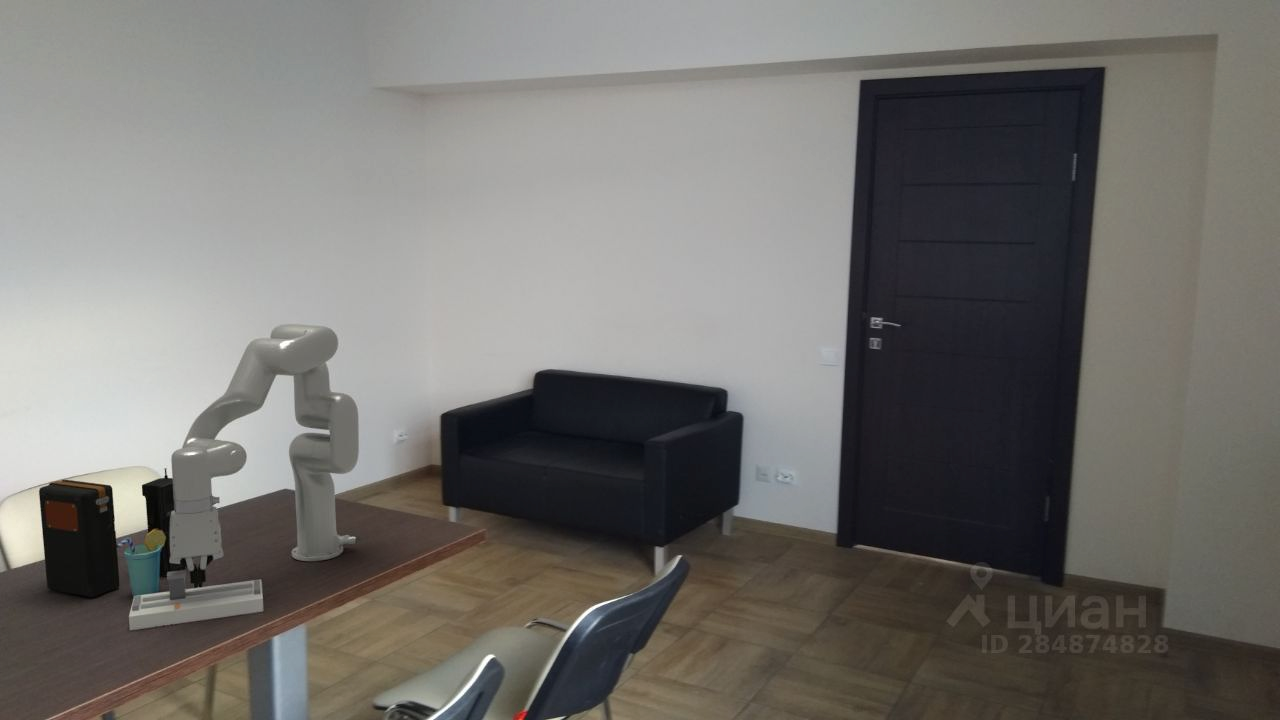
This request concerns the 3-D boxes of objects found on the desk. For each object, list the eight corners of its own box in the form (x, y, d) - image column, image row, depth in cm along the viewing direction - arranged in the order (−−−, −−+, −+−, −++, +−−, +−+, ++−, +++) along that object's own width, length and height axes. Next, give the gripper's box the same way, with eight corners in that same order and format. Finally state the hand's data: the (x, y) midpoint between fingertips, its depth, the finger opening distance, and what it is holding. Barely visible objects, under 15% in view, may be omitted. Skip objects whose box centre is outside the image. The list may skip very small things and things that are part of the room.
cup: (137, 608, 210) (133, 543, 207) (106, 606, 211) (101, 541, 209) (178, 585, 223) (174, 523, 221) (148, 582, 224) (144, 521, 222)
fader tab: (187, 595, 209) (185, 569, 208) (186, 599, 206) (185, 574, 205) (169, 597, 207) (167, 572, 207) (168, 602, 205) (166, 576, 204)
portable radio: (166, 579, 227) (159, 477, 223) (144, 577, 228) (137, 475, 224) (188, 567, 235) (181, 469, 231) (166, 565, 236) (160, 467, 232)
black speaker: (125, 587, 222) (117, 483, 218) (93, 601, 214) (84, 493, 210) (74, 578, 227) (66, 477, 223) (41, 591, 219) (32, 486, 215)
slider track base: (261, 591, 219) (261, 575, 219) (263, 611, 209) (262, 594, 208) (135, 608, 209) (133, 591, 209) (129, 630, 198) (128, 612, 198)
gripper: (231, 496, 212) (235, 575, 214) (156, 503, 206) (161, 584, 209) (231, 505, 205) (235, 586, 208) (153, 513, 199) (159, 596, 202)
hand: (198, 585), depth 208 cm, fingers closed
